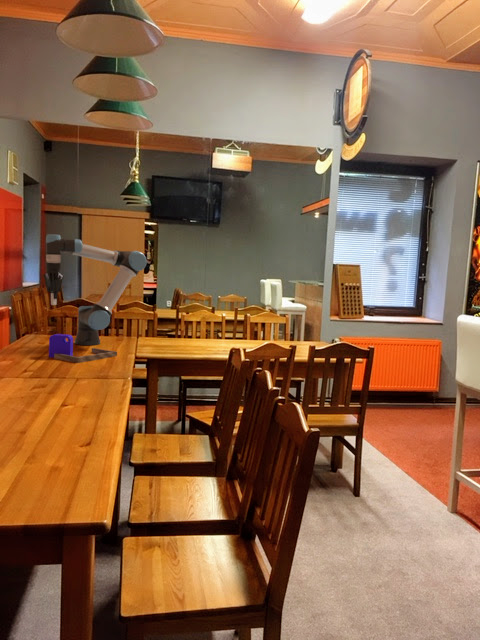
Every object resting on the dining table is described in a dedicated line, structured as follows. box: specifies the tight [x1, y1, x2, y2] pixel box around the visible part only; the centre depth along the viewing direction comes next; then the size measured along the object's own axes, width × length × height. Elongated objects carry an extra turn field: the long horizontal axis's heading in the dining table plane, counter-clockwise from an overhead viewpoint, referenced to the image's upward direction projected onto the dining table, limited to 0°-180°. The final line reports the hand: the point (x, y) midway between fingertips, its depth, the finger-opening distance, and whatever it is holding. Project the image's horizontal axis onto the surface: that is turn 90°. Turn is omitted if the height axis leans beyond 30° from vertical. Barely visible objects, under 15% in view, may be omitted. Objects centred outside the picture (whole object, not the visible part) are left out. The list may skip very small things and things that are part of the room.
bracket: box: [48, 333, 74, 358], centre depth 277 cm, size 18×11×12 cm, turn 1°
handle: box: [53, 347, 118, 364], centre depth 273 cm, size 28×17×2 cm, turn 151°
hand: (53, 304), depth 288 cm, fingers closed
